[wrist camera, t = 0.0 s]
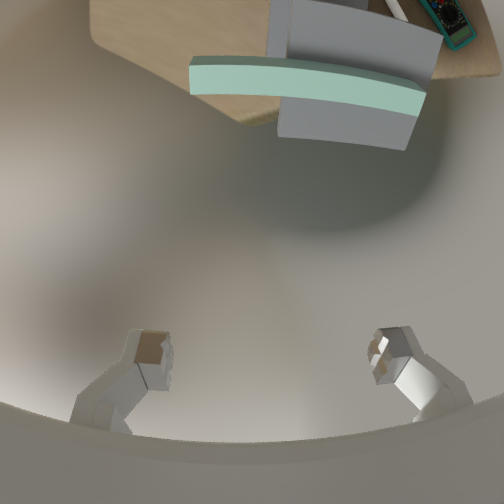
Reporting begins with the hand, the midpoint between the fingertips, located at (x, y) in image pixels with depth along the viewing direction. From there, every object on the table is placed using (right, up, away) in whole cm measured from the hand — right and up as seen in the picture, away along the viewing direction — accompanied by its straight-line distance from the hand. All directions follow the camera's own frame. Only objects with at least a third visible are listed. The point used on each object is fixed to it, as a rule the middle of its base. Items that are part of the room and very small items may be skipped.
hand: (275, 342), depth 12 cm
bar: (+5, +21, +15) cm, 27 cm away
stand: (+10, +42, +31) cm, 53 cm away
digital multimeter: (+35, +48, +25) cm, 65 cm away
